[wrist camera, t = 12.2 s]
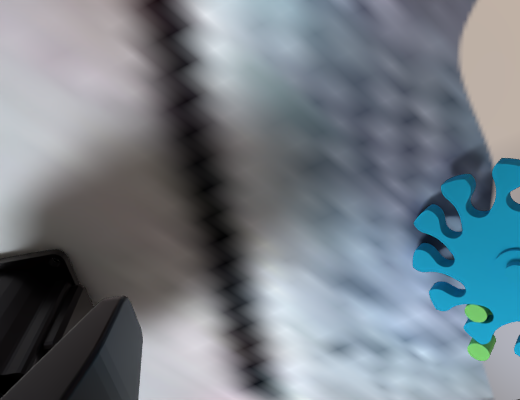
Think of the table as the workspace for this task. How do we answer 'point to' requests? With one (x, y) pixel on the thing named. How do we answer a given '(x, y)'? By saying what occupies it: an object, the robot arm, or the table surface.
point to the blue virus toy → (477, 256)
